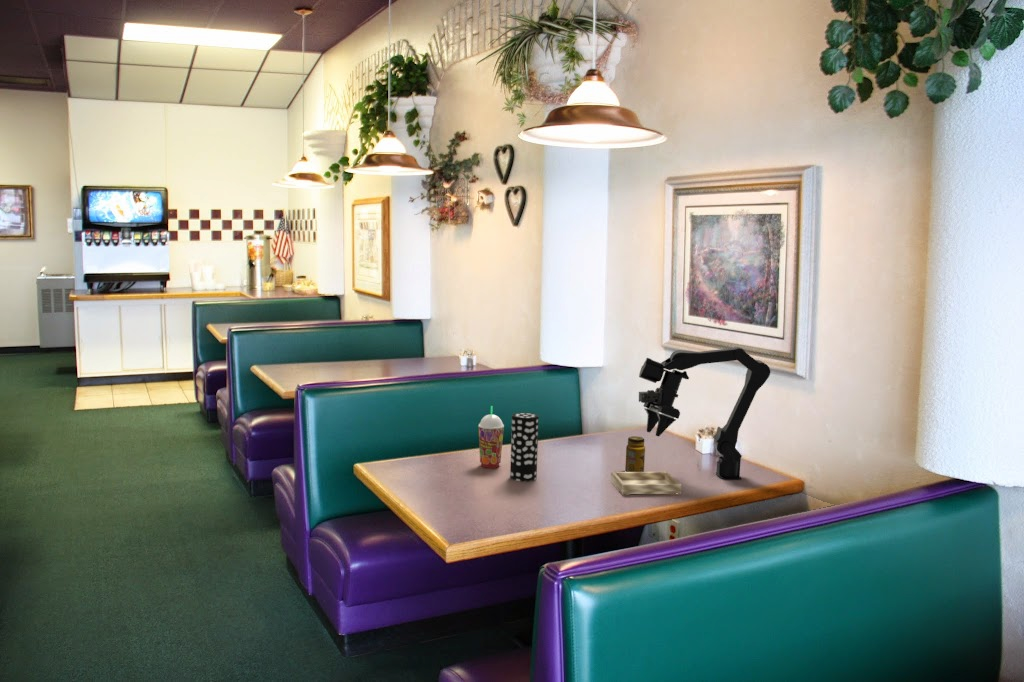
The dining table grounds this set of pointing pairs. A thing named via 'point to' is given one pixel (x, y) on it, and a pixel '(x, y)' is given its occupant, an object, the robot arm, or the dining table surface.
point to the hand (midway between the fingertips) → (652, 434)
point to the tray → (645, 483)
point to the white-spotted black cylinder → (524, 446)
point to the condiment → (635, 455)
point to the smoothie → (490, 440)
